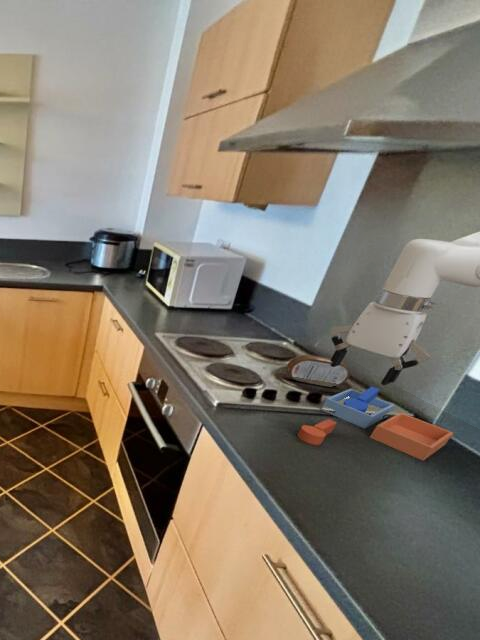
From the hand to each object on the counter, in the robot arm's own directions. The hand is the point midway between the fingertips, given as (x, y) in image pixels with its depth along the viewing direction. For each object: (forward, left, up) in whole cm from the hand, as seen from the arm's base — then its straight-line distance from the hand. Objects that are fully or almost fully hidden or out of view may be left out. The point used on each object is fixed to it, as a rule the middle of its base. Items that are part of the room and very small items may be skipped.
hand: (358, 374), depth 95 cm
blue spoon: (+1, -17, -13) cm, 21 cm away
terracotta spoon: (0, +7, -15) cm, 16 cm away
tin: (+15, -25, -15) cm, 32 cm away
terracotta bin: (-11, -12, -15) cm, 22 cm away
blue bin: (+1, -16, -15) cm, 22 cm away
